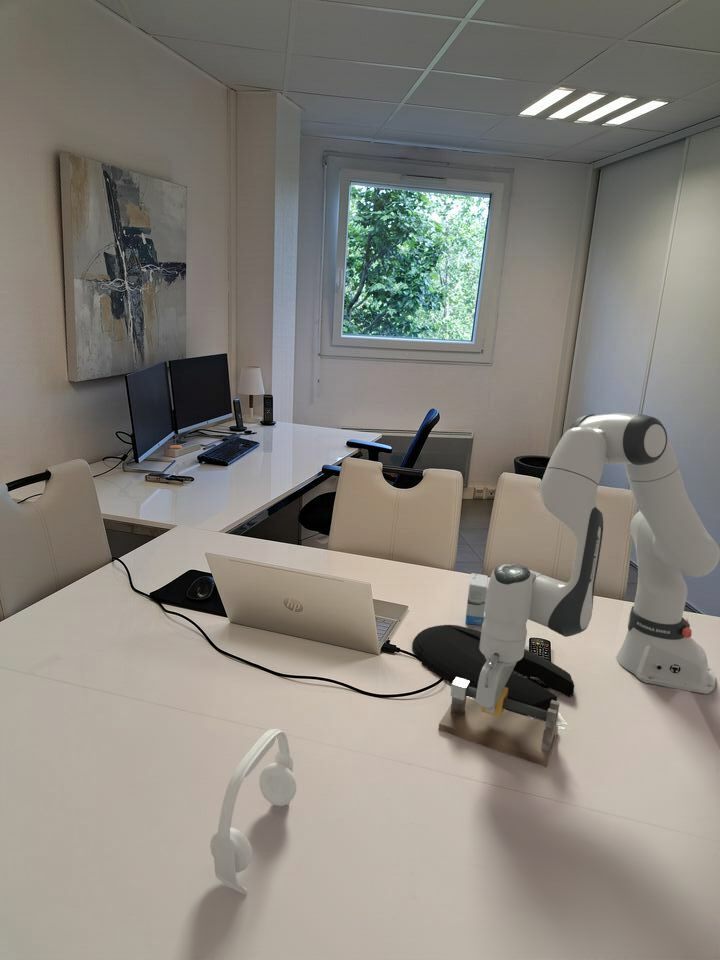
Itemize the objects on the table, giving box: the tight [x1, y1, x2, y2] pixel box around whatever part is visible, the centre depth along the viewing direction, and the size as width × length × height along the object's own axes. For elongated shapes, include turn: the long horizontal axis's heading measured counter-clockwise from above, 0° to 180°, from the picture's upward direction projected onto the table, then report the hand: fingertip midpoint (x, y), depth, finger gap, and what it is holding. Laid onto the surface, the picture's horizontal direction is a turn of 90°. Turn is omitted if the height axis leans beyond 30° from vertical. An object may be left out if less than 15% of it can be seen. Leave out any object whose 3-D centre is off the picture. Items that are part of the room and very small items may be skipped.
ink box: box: [465, 572, 489, 627], centre depth 182 cm, size 8×5×12 cm, turn 168°
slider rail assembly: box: [438, 696, 561, 768], centre depth 135 cm, size 22×12×10 cm, turn 64°
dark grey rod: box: [466, 686, 558, 723], centre depth 134 cm, size 18×4×4 cm, turn 64°
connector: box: [450, 677, 470, 716], centre depth 138 cm, size 3×3×7 cm
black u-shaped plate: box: [411, 624, 575, 717], centre depth 159 cm, size 25×41×5 cm, turn 47°
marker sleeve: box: [481, 687, 508, 718], centre depth 135 cm, size 4×4×4 cm
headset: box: [209, 728, 297, 896], centre depth 103 cm, size 20×7×18 cm, turn 159°
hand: (494, 703), depth 135 cm, fingers closed on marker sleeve, 4 cm apart
